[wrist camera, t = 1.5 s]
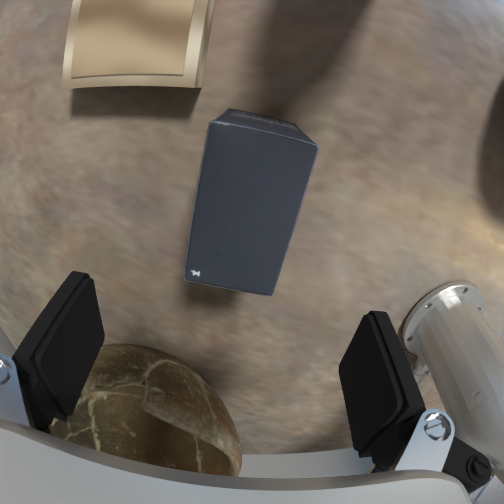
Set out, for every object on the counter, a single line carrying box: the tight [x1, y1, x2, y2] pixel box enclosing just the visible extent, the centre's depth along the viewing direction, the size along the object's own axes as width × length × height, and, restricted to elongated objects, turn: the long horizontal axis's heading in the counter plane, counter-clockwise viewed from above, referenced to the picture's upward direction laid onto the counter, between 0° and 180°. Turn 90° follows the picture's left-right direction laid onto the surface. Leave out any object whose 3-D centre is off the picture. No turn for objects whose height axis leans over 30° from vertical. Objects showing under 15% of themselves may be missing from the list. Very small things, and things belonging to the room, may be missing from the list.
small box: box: [183, 109, 319, 297], centre depth 22 cm, size 11×6×10 cm, turn 167°
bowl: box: [51, 344, 242, 477], centre depth 34 cm, size 28×27×15 cm
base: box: [62, 0, 216, 89], centre depth 18 cm, size 12×12×3 cm
